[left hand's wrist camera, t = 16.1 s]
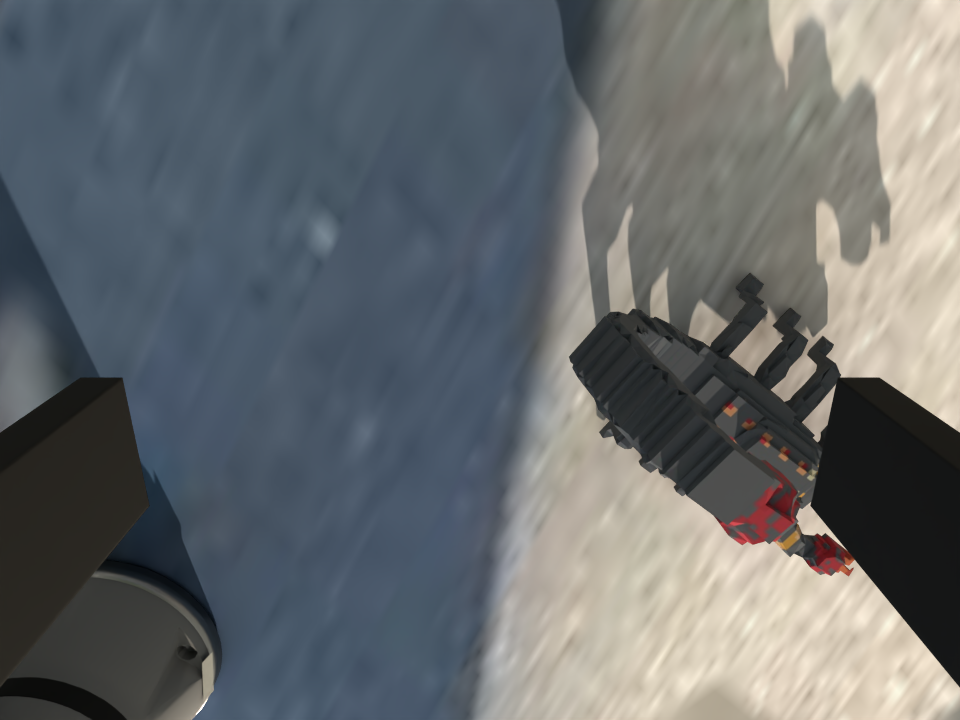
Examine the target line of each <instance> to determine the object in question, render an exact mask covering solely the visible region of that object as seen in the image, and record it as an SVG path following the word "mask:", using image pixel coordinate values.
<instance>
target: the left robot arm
mask: <svg viewBox="0 0 960 720" xmlns="http://www.w3.org/2000/svg"><path fill="white" fill-rule="evenodd" d="M148 507H149V501H148V497H147V492H146V487H145V482H144V478H143V473H142V468H141V464H140V459H139V454H138V449H137V445H136V440H135V435H134V430H133V426H132V421H131V416H130V411H129V407H128V402H127V397H126V393H125V388H124V383H123V378H79V379H78V380H76V381H75V382H74V383H72V384H71V385H69V386H68V387H66V388H65V389H63V390H62V391H60V392H59V393H57V394H56V395H55V396H53V397H52V398H50V399H49V400H47V401H46V402H44V403H43V404H41V405H40V406H39V407H37V408H36V409H34V410H33V411H31V412H30V413H28V414H27V415H25V416H24V417H22V418H21V419H20V420H18V421H17V422H15V423H14V424H12V425H11V426H9V427H8V428H6V429H5V430H4V431H2V432H1V433H0V720H192V719H193V718H194V717H195V715H196V714H197V713H198V712H199V711H200V710H201V709H202V707H203V706H204V704H205V703H206V701H207V699H208V697H209V695H210V694H211V693H212V692H213V691H214V684H215V682H216V680H217V677H218V675H219V672H220V668H221V663H222V649H221V643H220V638H219V635H218V632H217V630H216V628H215V626H214V623H213V622H212V620H211V618H210V617H209V615H208V614H207V612H206V611H205V610H204V608H203V607H202V606H201V605H200V604H199V603H198V602H197V601H196V600H195V599H194V598H193V597H192V596H191V595H190V594H189V593H188V592H186V591H185V590H184V589H183V588H181V587H180V586H178V585H177V584H175V583H174V582H172V581H170V580H169V579H167V578H165V577H163V576H161V575H159V574H157V573H155V572H152V571H150V570H147V569H145V568H142V567H138V566H135V565H131V564H127V563H122V562H115V561H105V559H106V558H107V557H108V556H109V554H110V553H111V552H112V551H113V550H114V548H115V547H116V546H117V545H118V543H119V542H120V541H121V540H122V539H123V537H124V536H125V535H126V534H127V532H128V531H129V530H130V529H131V528H132V526H133V525H134V524H135V523H136V522H137V520H138V519H139V518H140V517H141V515H142V514H143V513H144V512H145V511H146V509H147V508H148ZM811 507H812V508H813V509H814V511H815V512H816V513H817V514H818V515H819V517H820V518H821V519H822V520H823V522H824V523H825V524H826V525H827V526H828V528H829V529H830V530H831V531H832V532H833V534H834V535H835V536H836V537H837V539H838V540H839V541H840V542H841V543H842V545H843V546H844V547H845V548H846V550H847V551H848V552H849V553H850V554H851V556H852V557H853V558H854V559H855V560H856V562H857V563H858V564H859V565H860V567H861V568H862V569H863V570H864V571H865V573H866V574H867V575H868V576H869V577H870V579H871V580H872V581H873V582H874V584H875V585H876V586H877V587H878V588H879V590H880V591H881V592H882V593H883V595H884V596H885V597H886V598H887V599H888V601H889V602H890V603H891V604H892V605H893V607H894V608H895V609H896V610H897V612H898V613H899V614H900V615H901V616H902V618H903V619H904V620H905V621H906V622H907V624H908V625H909V626H910V627H911V629H912V630H913V631H914V632H915V633H916V635H917V636H918V637H919V638H920V640H921V641H922V642H923V643H924V644H925V646H926V647H927V648H928V649H929V650H930V652H931V653H932V654H933V655H934V657H935V658H936V659H937V660H938V661H939V663H940V664H941V665H942V666H943V668H944V669H945V670H946V671H947V672H948V674H949V675H950V676H951V677H952V678H953V680H954V681H955V682H956V683H957V685H958V686H959V687H960V433H959V432H958V431H956V430H955V429H954V428H952V427H951V426H949V425H948V424H946V423H945V422H943V421H942V420H940V419H939V418H938V417H936V416H935V415H933V414H932V413H930V412H929V411H927V410H926V409H924V408H923V407H921V406H920V405H919V404H917V403H916V402H914V401H913V400H911V399H910V398H908V397H907V396H905V395H904V394H903V393H901V392H900V391H898V390H897V389H895V388H894V387H892V386H891V385H889V384H888V383H886V382H885V381H884V380H882V379H881V378H837V383H836V388H835V393H834V397H833V402H832V407H831V411H830V416H829V421H828V426H827V430H826V435H825V440H824V445H823V449H822V454H821V459H820V464H819V468H818V473H817V478H816V482H815V487H814V492H813V497H812V501H811Z"/></svg>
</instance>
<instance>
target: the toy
mask: <svg viewBox="0 0 960 720" xmlns="http://www.w3.org/2000/svg"><path fill="white" fill-rule="evenodd" d="M763 285H764V284H763V283H762V282H760V281H759V280H758V279H757V278H755V277H754V276H753V275H752V274H751V273H749V274H748V275H747V277H746V278H745V279H744V280H743V281H742V282H741V283H740V284H739V285H738V286H737V287H736V289H738V290H739V291H740V292H741V294H740V296H739V298H741V299H742V300H744V301H745V302H746V304H745V305H744V307H743V308H742V309H741V310H740V311H739V313H738V314H737V315H736V316H735V317H734V319H733V321H732V322H731V323H730V324H729V325H728V326H727V327H726V328H725V329H724V330H723V331H722V333H721V334H720V335H719V336H718V337H717V338H716V339H715V340H714V341H713V342H712V344H711V346H710V347H709V346H707V345H706V344H705V343H703V342H701V341H699V340H696V339H694V338H691V337H689V336H687V335H685V334H683V333H682V332H680V331H679V330H678V329H676V328H675V327H674V326H672V325H671V324H669V323H667V322H665V321H663V320H661V319H659V318H657V317H654V318H650V317H649V316H647V315H646V314H645V313H644V312H642V311H641V310H636V309H632V310H631V311H630V313H629V314H628V315H627V314H624V313H621V312H610V313H609V314H608V315H607V316H605V317H604V318H603V319H602V320H601V321H600V322H599V324H598V325H597V326H596V327H595V328H594V329H593V330H592V331H591V333H590V334H589V335H588V336H587V337H586V338H585V339H584V340H583V342H582V343H581V344H580V345H579V346H578V347H577V348H576V349H575V351H574V352H573V353H572V354H571V355H570V356H569V358H570V361H571V362H572V363H573V367H572V368H573V370H574V371H575V373H576V375H577V377H578V378H579V380H580V381H581V382H582V384H583V385H584V386H585V387H586V389H587V390H588V391H589V393H590V394H591V395H592V396H593V398H594V399H595V402H596V404H597V407H598V409H599V411H600V412H601V413H602V414H603V415H604V416H605V417H607V418H608V419H609V420H610V421H609V422H608V423H607V424H606V426H605V427H604V428H603V429H602V430H601V431H600V432H599V433H600V434H601V436H602V437H603V438H606V437H611V436H614V438H615V441H616V443H617V445H619V446H621V447H622V448H624V449H631V448H632V447H634V448H635V449H636V450H637V451H638V452H639V453H640V454H641V456H642V458H641V459H640V460H639V463H640V465H641V466H642V467H643V468H645V469H646V470H647V471H649V472H650V473H651V472H653V471H654V470H656V469H657V468H658V469H659V473H660V474H661V475H662V476H663V477H664V478H666V477H668V478H670V479H672V480H673V481H674V482H675V483H676V485H675V486H674V488H675V490H676V492H677V493H679V494H680V495H681V496H684V495H685V494H686V495H687V496H688V497H689V498H691V499H692V500H693V501H695V502H696V503H697V504H699V505H700V506H702V507H703V508H704V509H706V510H707V511H708V512H710V513H711V514H712V515H714V517H715V518H716V519H717V521H718V522H719V523H720V525H721V526H722V527H723V529H724V530H725V531H726V533H727V534H728V535H729V536H730V537H731V538H733V539H734V540H736V541H737V542H738V543H740V544H741V545H743V544H745V543H746V542H749V543H751V544H752V545H753V544H757V543H761V542H764V541H766V542H767V543H768V544H770V543H771V542H772V541H774V542H776V544H777V545H778V546H779V547H780V548H781V549H782V550H783V551H784V552H785V553H786V554H787V555H788V556H790V557H791V556H792V555H793V554H796V555H798V556H801V557H803V558H804V560H805V561H806V562H807V564H808V565H809V566H810V567H811V568H812V569H813V570H815V571H816V572H817V573H819V574H820V575H822V574H825V573H826V574H828V575H830V576H832V575H833V574H834V573H835V572H838V573H839V571H842V572H843V573H845V574H846V575H847V576H849V575H850V574H851V572H852V570H853V568H852V569H851V570H849V569H848V568H847V567H846V566H845V565H850V564H851V563H852V562H853V561H854V560H855V559H854V558H853V557H852V556H851V554H850V553H849V552H848V551H847V550H845V549H844V548H843V547H842V546H840V545H839V544H838V543H836V542H835V541H834V540H833V539H832V538H830V537H829V536H828V535H827V534H826V533H825V534H824V535H823V536H820V535H819V534H818V533H817V534H816V535H815V536H812V535H804V534H802V532H801V530H800V527H799V525H798V524H797V522H798V520H797V519H796V515H797V513H798V510H799V508H801V509H803V508H804V507H805V506H806V505H807V504H809V503H810V502H811V501H812V497H813V492H814V487H815V482H816V478H817V473H818V468H819V464H820V459H821V454H822V449H823V445H824V440H825V435H826V430H827V426H828V425H827V426H826V427H825V428H824V430H823V431H822V432H821V438H820V441H819V442H818V443H817V442H816V441H815V440H814V439H813V437H814V436H815V435H814V434H813V433H812V432H811V431H810V430H809V429H808V428H807V427H806V426H805V425H804V424H803V423H802V421H803V420H804V419H805V418H806V417H807V416H808V415H809V414H810V413H811V412H812V411H813V410H814V409H815V408H816V407H817V406H818V404H819V403H820V402H821V401H822V400H823V399H824V397H825V396H826V395H827V394H828V393H829V391H830V390H831V389H832V388H833V387H834V386H835V384H836V383H837V378H840V376H841V374H840V373H839V370H838V368H837V365H836V363H834V362H833V361H831V360H830V359H829V358H827V357H826V355H827V354H828V353H829V352H830V351H831V350H832V348H833V346H834V344H833V343H831V342H830V341H828V340H827V339H826V338H825V337H824V336H822V337H821V338H820V339H819V340H818V342H817V343H816V344H815V345H814V346H813V347H812V348H811V349H810V350H809V352H808V354H807V355H808V356H809V357H810V358H811V359H812V360H813V361H814V362H815V363H816V364H817V369H816V372H815V373H814V374H813V375H812V376H811V377H810V379H809V380H808V381H807V382H806V383H805V384H804V385H803V386H802V387H801V388H800V389H799V390H798V391H797V392H796V393H795V394H794V395H793V396H792V398H791V399H790V400H788V401H786V402H784V401H783V400H782V399H781V398H780V397H778V396H777V395H776V394H775V393H773V392H772V391H771V389H772V388H773V387H774V386H775V385H776V384H777V383H779V382H780V381H781V380H782V379H783V378H784V377H785V376H786V374H787V372H788V370H789V368H790V366H791V365H792V364H793V363H794V362H795V361H796V360H797V359H798V358H799V357H800V356H801V355H802V353H803V351H804V349H805V347H806V344H807V342H808V339H806V338H805V337H804V336H803V335H802V334H800V333H799V332H798V331H796V330H795V329H793V327H794V326H795V325H796V323H797V322H798V321H799V319H800V318H801V316H800V315H799V314H797V313H796V312H795V311H794V310H792V309H791V308H790V309H789V310H788V311H787V312H786V313H785V314H784V315H783V316H782V317H781V318H780V319H779V320H778V321H777V322H776V323H775V324H774V325H773V327H775V328H776V329H777V330H778V331H779V332H781V333H782V334H783V335H784V336H783V337H782V338H781V339H782V340H783V341H782V342H781V343H780V344H779V345H778V346H777V347H776V348H775V349H774V350H773V351H772V353H771V354H770V355H769V356H768V357H767V358H766V359H765V361H764V362H763V363H762V364H761V365H760V366H759V368H758V370H757V372H756V374H755V376H753V375H751V374H750V373H749V372H748V371H746V370H745V369H744V368H743V367H741V366H740V365H739V364H738V363H736V362H735V361H734V360H733V359H732V358H730V357H729V355H730V354H731V353H732V352H733V351H734V350H735V349H736V347H737V346H738V345H739V344H740V343H741V342H742V341H743V340H744V339H745V338H746V336H747V335H748V334H749V333H750V332H751V331H752V330H753V329H754V328H755V326H756V325H757V324H758V323H759V322H760V321H761V319H762V318H763V317H764V316H765V315H766V314H767V311H766V310H764V309H763V308H762V307H761V306H760V305H762V304H763V303H764V302H763V301H762V300H760V299H759V298H758V297H756V295H757V294H758V292H759V291H760V290H761V288H762V287H763ZM844 564H845V565H844Z"/></svg>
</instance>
